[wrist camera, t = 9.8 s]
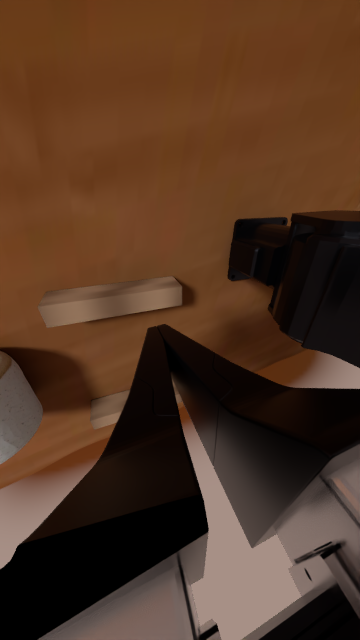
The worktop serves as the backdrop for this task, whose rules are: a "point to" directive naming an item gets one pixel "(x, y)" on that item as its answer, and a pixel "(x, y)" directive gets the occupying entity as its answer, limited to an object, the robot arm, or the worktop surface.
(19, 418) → the ceramic mug
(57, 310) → the mug dock
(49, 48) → the worktop surface
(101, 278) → the worktop surface
